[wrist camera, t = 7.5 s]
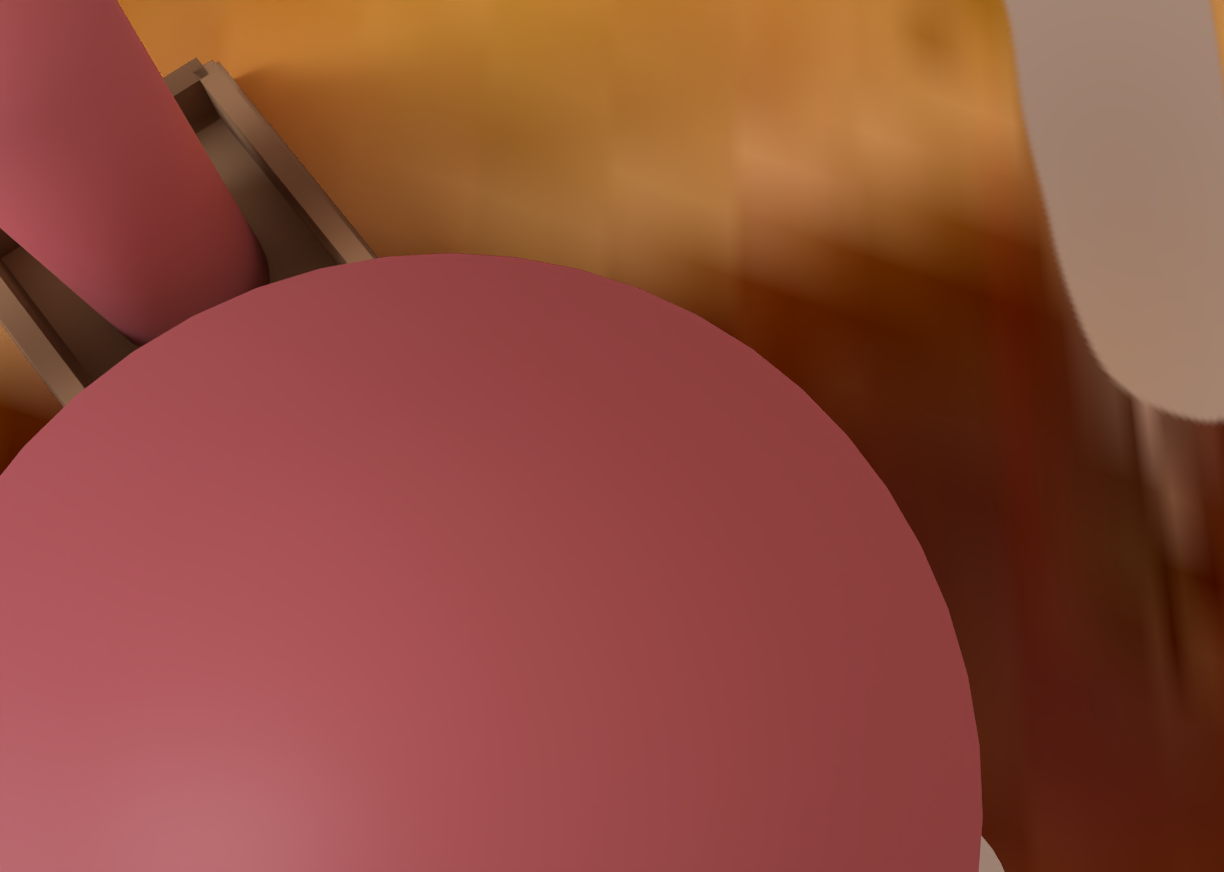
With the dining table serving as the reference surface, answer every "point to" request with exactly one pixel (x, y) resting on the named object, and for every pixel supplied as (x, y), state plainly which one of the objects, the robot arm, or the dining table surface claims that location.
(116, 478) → the candle loose
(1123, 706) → the dining table surface
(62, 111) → the candle seated
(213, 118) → the holder
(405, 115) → the dining table surface
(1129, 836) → the dining table surface
